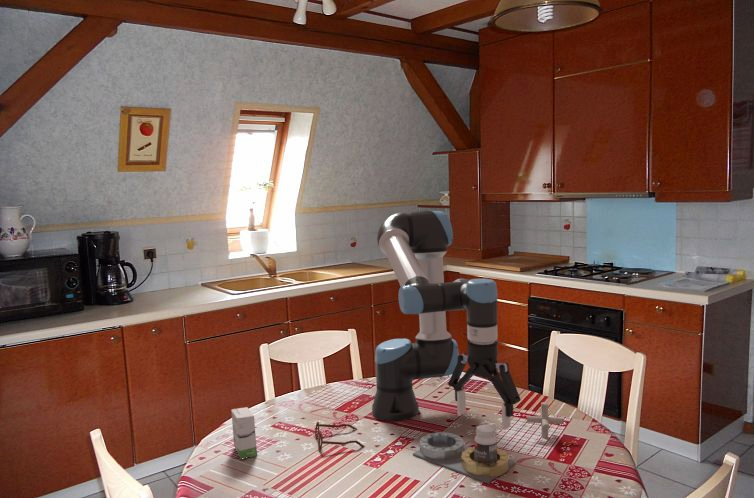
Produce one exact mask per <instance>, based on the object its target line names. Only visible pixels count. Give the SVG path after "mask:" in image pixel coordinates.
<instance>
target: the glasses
mask: <svg viewBox="0 0 754 498" xmlns="http://www.w3.org/2000/svg"><path fill="white" fill-rule="evenodd" d="M320 427H322V428H335V429H336V428H338V429H339V428H343V427H349V428H350V429H353V430H354V429H357V430H358V428H357V427H355V426H353V425H351V424H350V423H345V424H343V423H342V424H338V425H337V424H322V423H320V421H316V425H315V430H314V436H315V437H316V438H315V437H314V438H315V440H316V439H318V444H317V445H318V446H317V448H318V451H319V452H322V449H323V448H322V447H323V444H324V445H340V446H345V445H348V444H349V445H350V444H356V445H358V446H359V447H361V448H365V447H366V446H365V445H364V444H363V443H361V442H360V441H358V440H349V441H348V440H347V441H330V440H329V441H327V440H326V441H325V440H324V439H323V438H324V437H323V433H321V431H320Z"/></svg>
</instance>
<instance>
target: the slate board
mask: <svg viewBox="0 0 754 498" xmlns="http://www.w3.org/2000/svg"><path fill="white" fill-rule="evenodd" d="M432 446H433V447H436V448H447V447H451V445H448V444H436V445H432ZM471 447H472V446H468V445H465V444H464V451H465V450H467V449H468V448H471ZM412 456H414V457H416V458H420V459H422V460H425V461H428V462H430V463H432V464H434V465H438V466H441V467H444V468H445V469H448V470H451V471H454V472H457V473H459V474H461V475H464V476H466V477H469V478H472V479H474V480H478V481H480V482H483V483H486V484H489V483H490V482H492V481H493V480H494V479H496V478H497V477H498V476H493V477H482V476H475V475H473V474H470V473H467V472H466V471H465V470H464V469H463V468H462V467H461V456H462V455H461V456H459V457H458V458H456V459H451V460H445V461H444V460H433V459H430V458H427V457H425V456H423V455H422V453H421V452H420V449H418V450H416V451H415V452H413V453H412ZM473 461H475V460H473ZM514 465H516V462H515V461H512V460H510V459H508V470H509V469H511V467H513V466H514Z"/></svg>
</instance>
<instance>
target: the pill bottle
mask: <svg viewBox="0 0 754 498" xmlns="http://www.w3.org/2000/svg"><path fill="white" fill-rule="evenodd" d="M475 429H476V430H475V432H476V433H475V434H476V435H475V436H474V441H473V442H474V446H473V447H474V453H475V462H478V463H486V464H489V463H494V462H497V448H498V439H497V437H496V436H495V434H496V432H495V431H496V430H495V427H493V426H492V425H487V424H481V425H478V426H476V428H475Z"/></svg>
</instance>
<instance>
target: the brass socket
mask: <svg viewBox="0 0 754 498" xmlns="http://www.w3.org/2000/svg"><path fill="white" fill-rule="evenodd" d="M470 447H471V448H468V449H467V450H465V451H463V452H462V456H461V467H462V468H463V469H464V470H465V471H466V472H467V473H470V474H473V475H475V476H482V477H493V476H497V477H500V476H502V475H503V474H505V473H506V472H508V471H509V469H508V460H509V454H507V453H506V451H504V450H503V449H500V448H498V447H497V462H494V463H489V464H486V463H478V462H475V461H473V460H475V453H474V446H473V447H472V446H470Z"/></svg>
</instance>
